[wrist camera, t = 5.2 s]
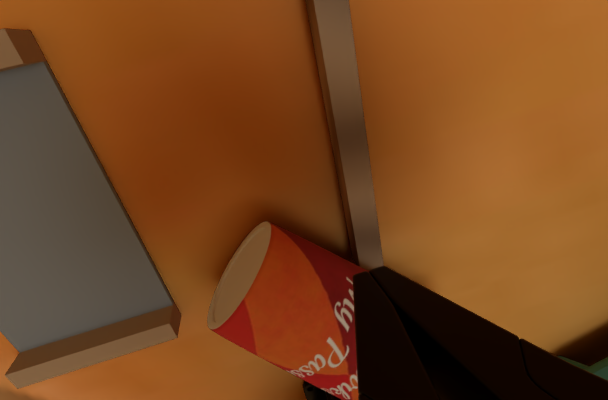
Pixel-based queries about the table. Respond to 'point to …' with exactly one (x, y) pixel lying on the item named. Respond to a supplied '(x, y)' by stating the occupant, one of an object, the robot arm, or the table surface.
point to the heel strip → (346, 125)
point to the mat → (65, 235)
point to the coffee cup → (291, 308)
